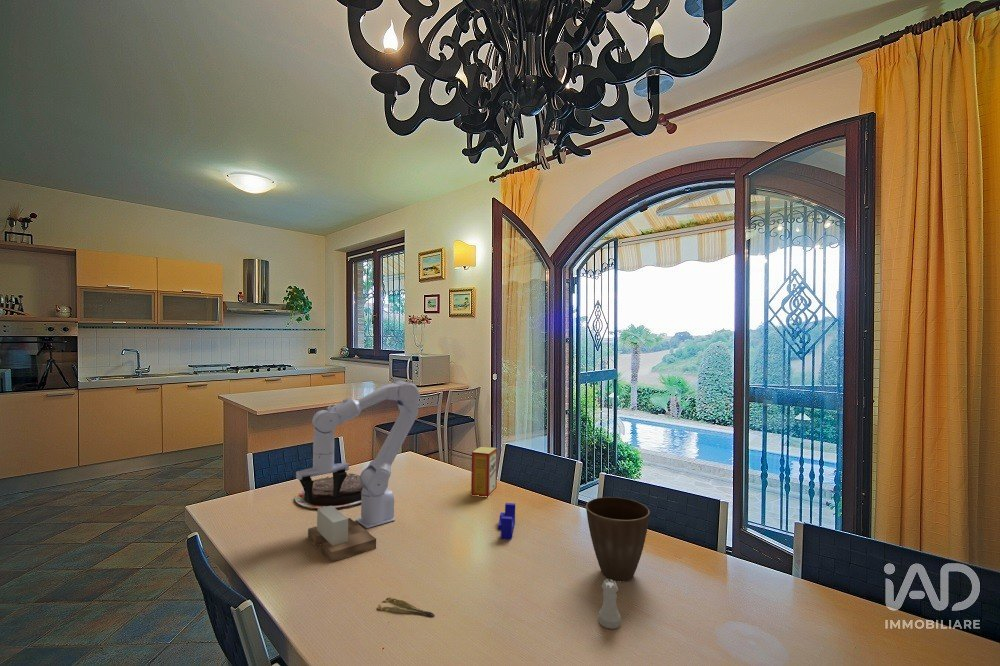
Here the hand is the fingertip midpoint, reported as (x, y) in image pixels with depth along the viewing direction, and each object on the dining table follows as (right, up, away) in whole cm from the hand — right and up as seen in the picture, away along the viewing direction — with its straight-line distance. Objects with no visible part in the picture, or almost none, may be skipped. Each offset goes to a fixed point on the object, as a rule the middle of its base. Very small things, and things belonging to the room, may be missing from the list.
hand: (322, 499), depth 129 cm
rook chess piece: (+73, -10, -40) cm, 84 cm away
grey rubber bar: (+6, -7, -8) cm, 12 cm away
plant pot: (+80, -10, -21) cm, 83 cm away
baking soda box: (+46, -11, +35) cm, 59 cm away
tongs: (+32, -10, -36) cm, 49 cm away
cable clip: (+53, -11, +3) cm, 54 cm away
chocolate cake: (-7, -11, +30) cm, 32 cm away
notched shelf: (+8, -9, -7) cm, 14 cm away
